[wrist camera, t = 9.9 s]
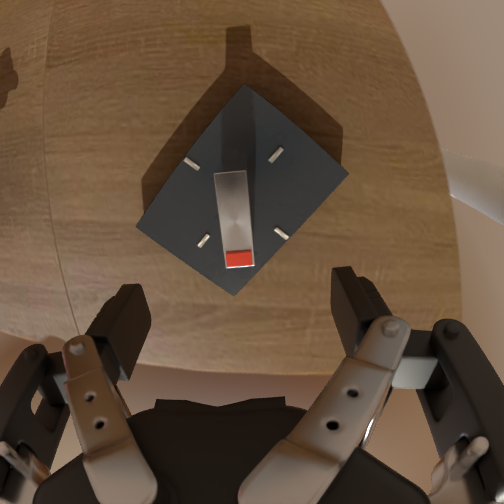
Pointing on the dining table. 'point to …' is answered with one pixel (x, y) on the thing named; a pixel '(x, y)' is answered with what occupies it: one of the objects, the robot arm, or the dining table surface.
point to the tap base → (260, 181)
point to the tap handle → (235, 212)
